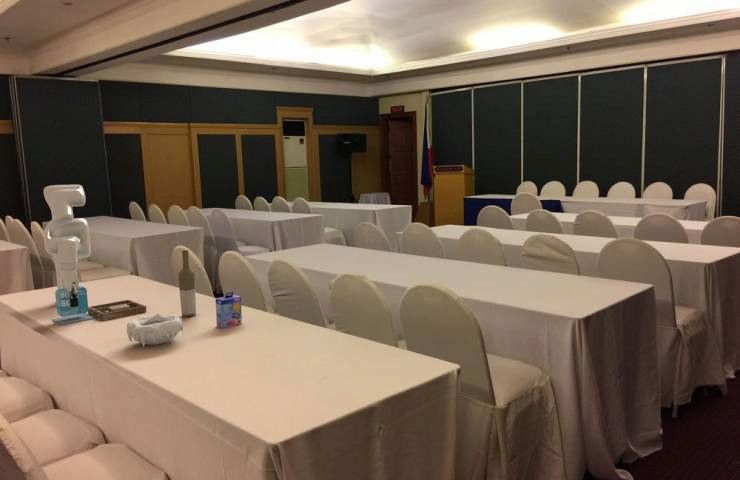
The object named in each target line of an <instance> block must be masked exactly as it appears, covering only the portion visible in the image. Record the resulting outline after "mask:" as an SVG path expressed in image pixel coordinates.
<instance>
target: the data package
mask: <svg viewBox="0 0 740 480" xmlns="http://www.w3.org/2000/svg"><path fill="white" fill-rule="evenodd" d="M72 291H74V290H71V292H72ZM54 294H55V302H56V304H55V305H56V313H57V315H58V316H60V317H61V318H62V317H67V316H72V315H78V314H83V313H86V314H87V313H88V307H89V300H88V289H87V287H85V286H83V285H79V290H78V307H72V308H71V307H70V299H71V298H70V292H69V293H68V292H66V290H65V289H63V288H62V289H58V288H57V289H56V290H55V292H54ZM72 294H73V293H72Z"/></svg>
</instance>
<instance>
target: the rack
mask: <svg viewBox="0 0 740 480" xmlns="http://www.w3.org/2000/svg"><path fill="white" fill-rule="evenodd" d="M124 304H127V305H129V306H130V309H125V310H120V311H114V312H109V313H105V311H109V309H108V307H112V306H118V305H124ZM147 312H148V311H147V305H146V304H142V303H139V302H138V301H133V300H132V299H125V300H118V301H113V302H109V303H104V304H103V303H102V304H97V305H92V306H88V311H87V314H88V315H90V316H92V317H94V318H97V319H100V320H101V321H108V320H112V319H113V320H114V319H119V318H123V317H128V316H134V315H138V314H143V313H147Z"/></svg>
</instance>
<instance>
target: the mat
mask: <svg viewBox="0 0 740 480" xmlns="http://www.w3.org/2000/svg"><path fill="white" fill-rule="evenodd" d="M95 319H96V317H95V316H93V315H91V314H89V313H87V312H86V313H82V314H77V315H71V316H66V317H62V316H61V317H57V318H53V319H51V320H52V321H53V322H54V323H57V324H58V325H60V326H66V325H71V324H77V323H80V322H85V321H91V320H95Z"/></svg>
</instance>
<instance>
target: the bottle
mask: <svg viewBox="0 0 740 480" xmlns="http://www.w3.org/2000/svg"><path fill="white" fill-rule="evenodd" d="M181 255H182V256H181V257H182V268H181V269H180V270H179V272H178V273H177V274H178V285H179V286H178V287H179V297H180V309H181V316H182V317H185V318H190V316H191V317H195V316H196V314H197V302H196V300H197V298H196V277H195V276H196V275H195V271H194V270H193V269H192V268H191V267H190V263H189V261H190V260H189V259H190V258H189V250H187V249H185V250H181Z"/></svg>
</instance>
